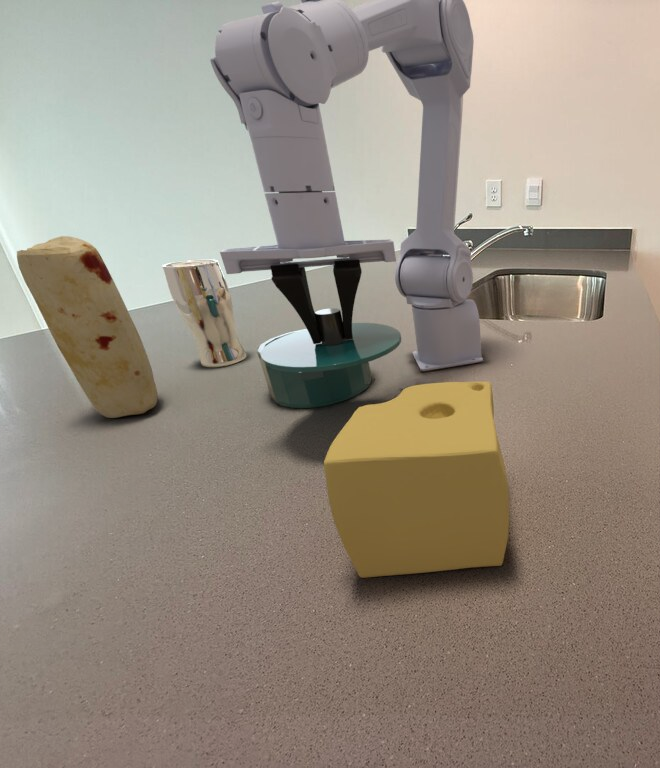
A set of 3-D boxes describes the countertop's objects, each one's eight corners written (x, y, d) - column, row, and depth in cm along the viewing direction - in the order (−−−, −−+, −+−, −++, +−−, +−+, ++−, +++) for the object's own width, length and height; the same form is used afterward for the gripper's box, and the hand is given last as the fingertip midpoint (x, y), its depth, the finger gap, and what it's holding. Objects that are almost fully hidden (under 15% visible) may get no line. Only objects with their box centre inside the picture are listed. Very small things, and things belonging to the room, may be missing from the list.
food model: (182, 406, 51) (111, 236, 42) (113, 430, 46) (17, 243, 37) (149, 388, 55) (80, 233, 47) (84, 409, 50) (-7, 239, 42)
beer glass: (225, 370, 61) (188, 267, 54) (186, 367, 62) (146, 266, 56) (259, 353, 67) (230, 259, 60) (224, 351, 68) (192, 259, 62)
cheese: (381, 485, 36) (361, 383, 32) (502, 476, 37) (498, 376, 33) (349, 587, 27) (314, 463, 22) (512, 573, 27) (508, 450, 23)
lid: (394, 325, 50) (388, 291, 48) (411, 363, 39) (405, 320, 37) (272, 341, 46) (261, 303, 44) (252, 389, 35) (236, 341, 33)
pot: (367, 357, 65) (359, 317, 62) (376, 406, 50) (367, 356, 47) (280, 369, 61) (268, 327, 58) (262, 427, 46) (244, 374, 43)
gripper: (190, 194, 30) (245, 363, 36) (390, 190, 35) (410, 340, 41) (213, 194, 36) (258, 339, 42) (382, 191, 41) (400, 321, 47)
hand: (333, 338), depth 42 cm, fingers closed on lid, 2 cm apart
